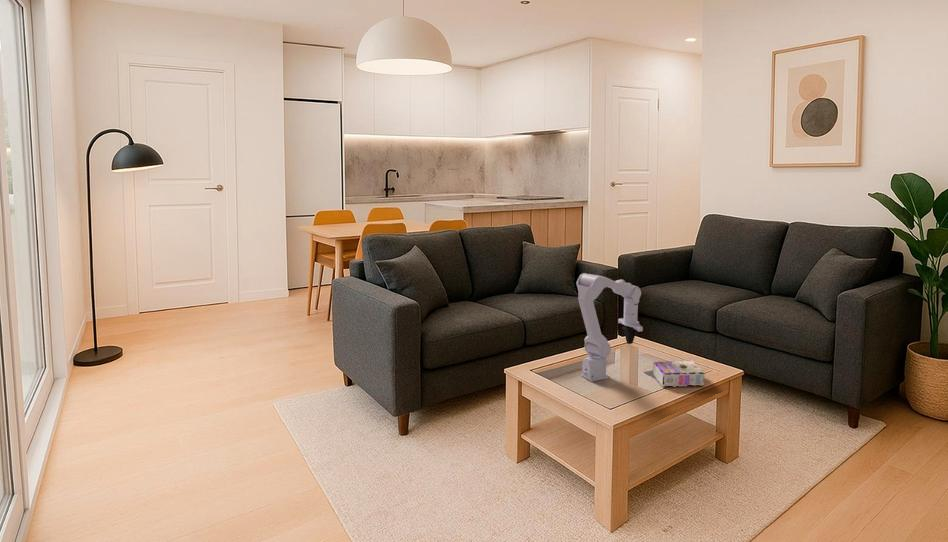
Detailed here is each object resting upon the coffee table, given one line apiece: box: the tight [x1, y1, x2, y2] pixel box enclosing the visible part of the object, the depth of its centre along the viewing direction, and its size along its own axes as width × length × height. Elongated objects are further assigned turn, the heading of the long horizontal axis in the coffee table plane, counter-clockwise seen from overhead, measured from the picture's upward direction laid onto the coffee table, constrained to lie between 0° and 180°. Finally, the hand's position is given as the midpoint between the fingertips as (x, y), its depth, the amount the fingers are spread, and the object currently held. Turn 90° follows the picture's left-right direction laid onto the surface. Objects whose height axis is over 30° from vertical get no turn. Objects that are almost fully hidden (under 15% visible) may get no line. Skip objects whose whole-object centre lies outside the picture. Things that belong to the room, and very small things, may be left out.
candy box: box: [652, 360, 706, 388], centre depth 243 cm, size 14×6×16 cm
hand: (629, 343), depth 259 cm, fingers closed
